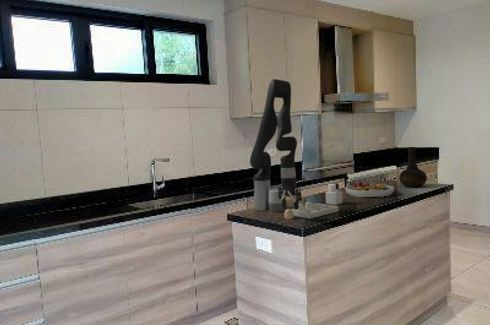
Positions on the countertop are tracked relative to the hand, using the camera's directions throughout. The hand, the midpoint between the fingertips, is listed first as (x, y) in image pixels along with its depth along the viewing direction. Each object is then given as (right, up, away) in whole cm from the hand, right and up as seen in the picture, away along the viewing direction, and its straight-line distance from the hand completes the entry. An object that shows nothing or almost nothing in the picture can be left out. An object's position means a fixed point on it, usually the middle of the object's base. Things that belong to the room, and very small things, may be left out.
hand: (290, 208), depth 195 cm
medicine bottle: (+30, -1, +34) cm, 46 cm away
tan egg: (-1, -6, +1) cm, 6 cm away
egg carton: (+14, -4, +10) cm, 17 cm away
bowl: (+59, +2, +58) cm, 82 cm away
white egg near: (+6, -4, +8) cm, 11 cm away
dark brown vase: (+96, +6, +78) cm, 124 cm away
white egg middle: (+12, -3, +13) cm, 17 cm away
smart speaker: (-5, -5, +20) cm, 21 cm away
